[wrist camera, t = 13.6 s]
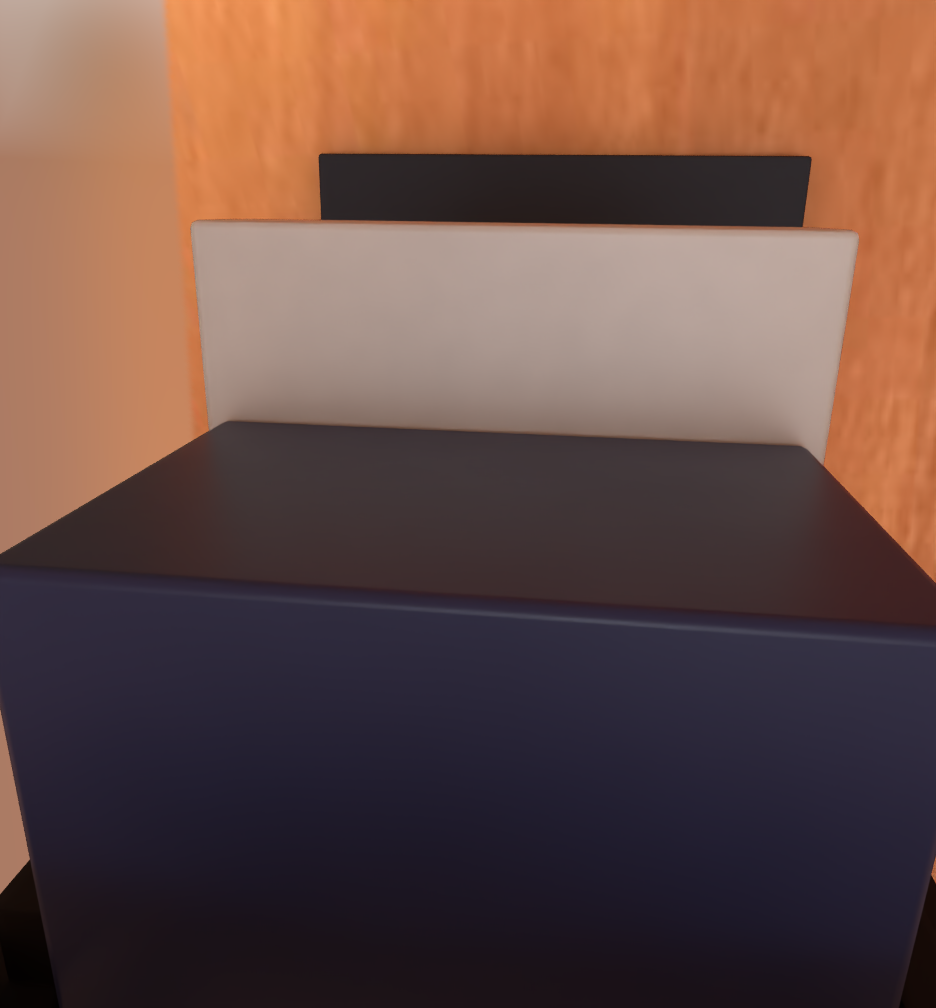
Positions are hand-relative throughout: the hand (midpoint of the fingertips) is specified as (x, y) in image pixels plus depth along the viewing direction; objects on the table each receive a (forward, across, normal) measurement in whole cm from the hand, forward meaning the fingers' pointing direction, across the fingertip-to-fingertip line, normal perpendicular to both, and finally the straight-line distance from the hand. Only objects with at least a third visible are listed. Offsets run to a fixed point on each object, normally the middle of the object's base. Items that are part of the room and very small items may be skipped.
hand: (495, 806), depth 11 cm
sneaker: (+1, 0, +1) cm, 1 cm away
